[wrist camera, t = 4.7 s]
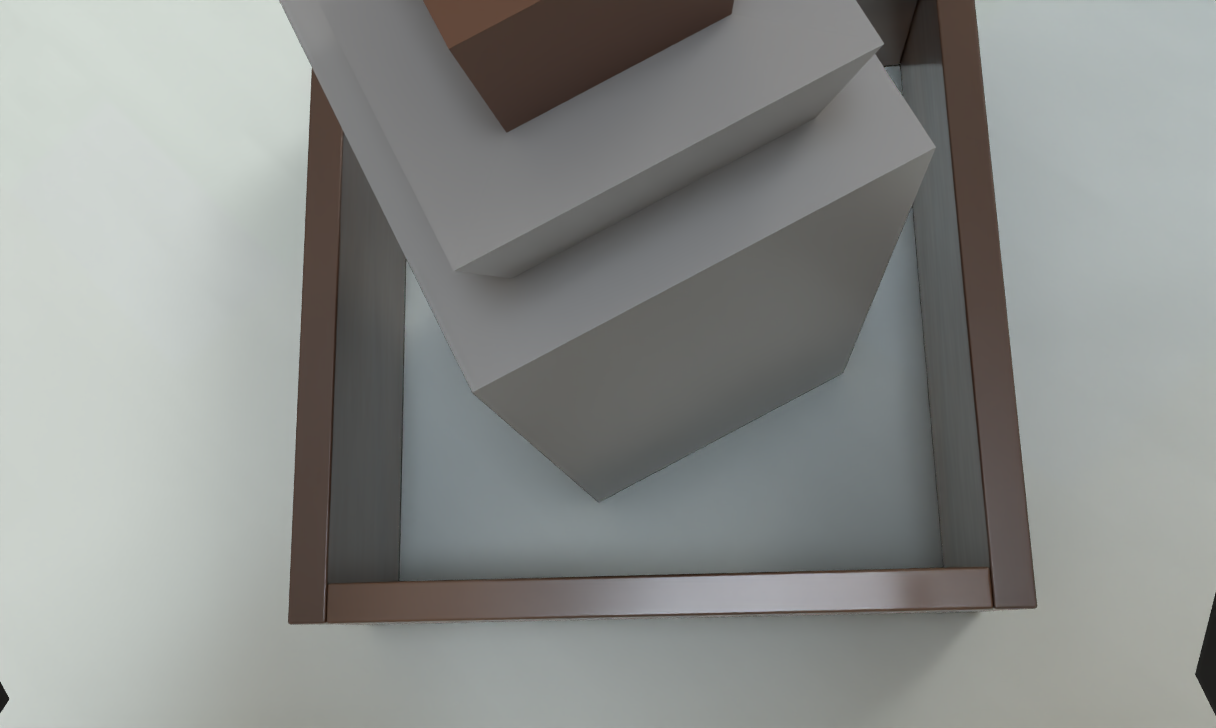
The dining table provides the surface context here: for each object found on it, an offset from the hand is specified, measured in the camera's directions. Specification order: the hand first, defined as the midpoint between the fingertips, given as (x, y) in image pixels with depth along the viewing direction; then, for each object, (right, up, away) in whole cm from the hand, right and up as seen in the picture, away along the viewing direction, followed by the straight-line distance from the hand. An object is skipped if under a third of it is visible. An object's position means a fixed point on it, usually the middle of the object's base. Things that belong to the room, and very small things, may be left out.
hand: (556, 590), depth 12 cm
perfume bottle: (+2, +3, +17) cm, 18 cm away
